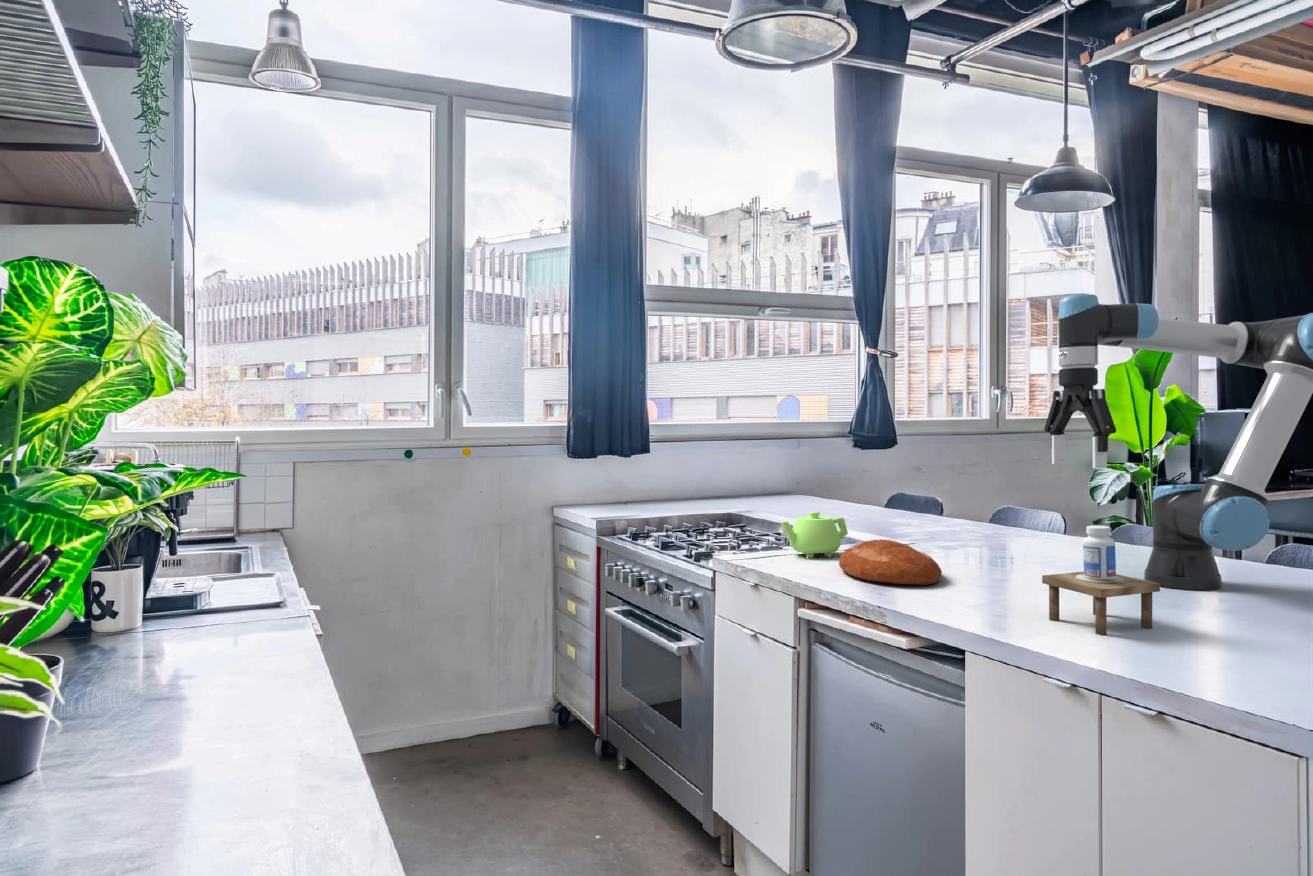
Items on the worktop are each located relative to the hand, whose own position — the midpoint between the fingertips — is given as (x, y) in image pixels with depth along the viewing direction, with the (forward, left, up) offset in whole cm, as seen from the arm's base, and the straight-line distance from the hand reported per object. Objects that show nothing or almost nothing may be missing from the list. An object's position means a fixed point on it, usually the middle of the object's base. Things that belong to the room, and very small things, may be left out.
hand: (1078, 466), depth 177 cm
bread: (+29, -33, -29) cm, 53 cm away
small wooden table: (+10, +20, -29) cm, 36 cm away
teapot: (+37, -65, -29) cm, 80 cm away
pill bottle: (+10, +20, -20) cm, 30 cm away
